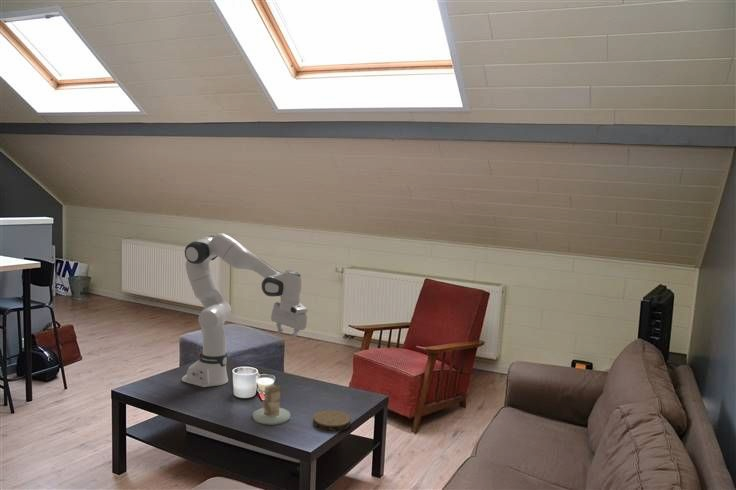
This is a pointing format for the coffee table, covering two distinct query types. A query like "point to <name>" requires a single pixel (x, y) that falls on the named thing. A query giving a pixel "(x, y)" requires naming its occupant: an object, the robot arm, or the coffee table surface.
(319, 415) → the brown round disc
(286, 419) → the dish
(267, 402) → the birch block
